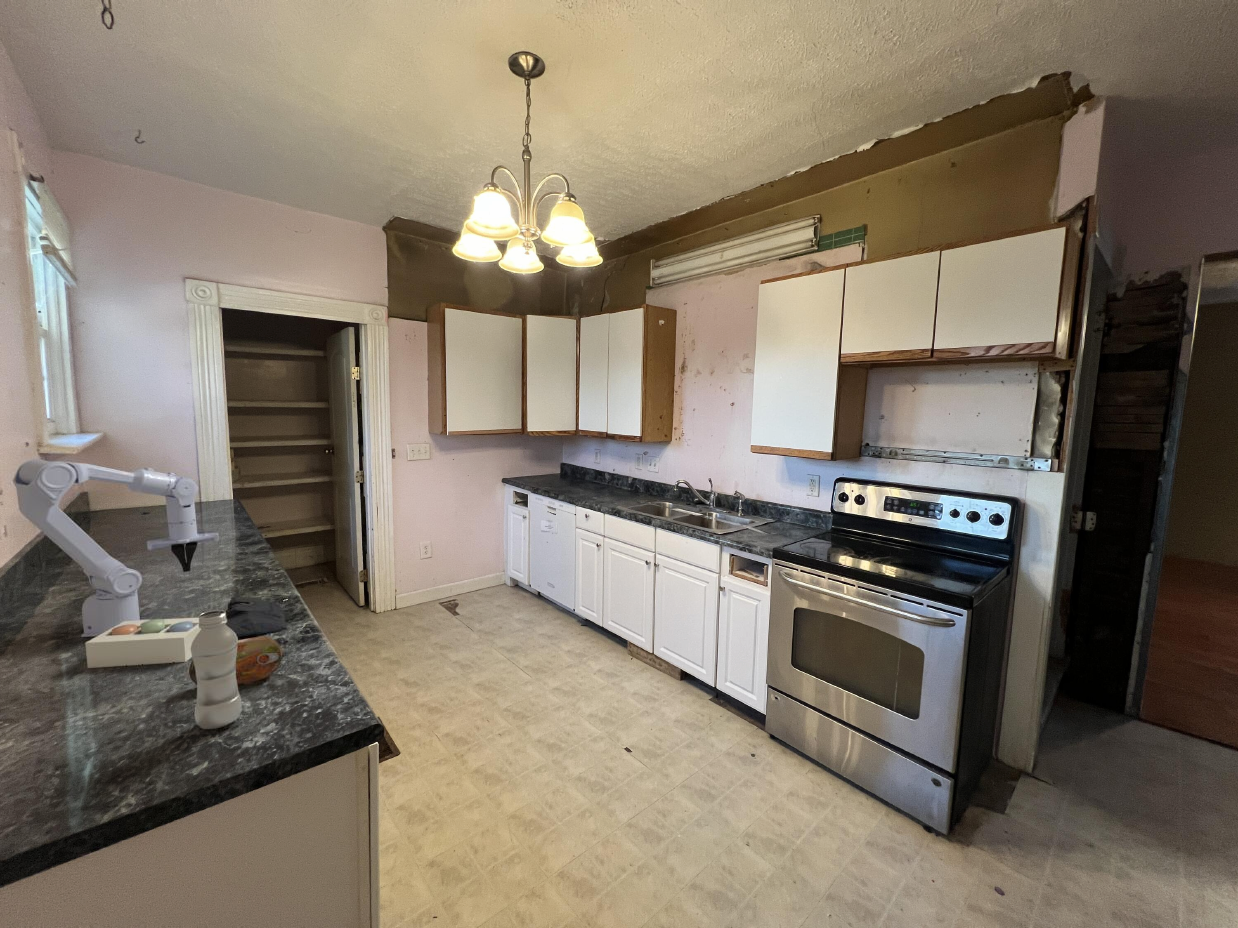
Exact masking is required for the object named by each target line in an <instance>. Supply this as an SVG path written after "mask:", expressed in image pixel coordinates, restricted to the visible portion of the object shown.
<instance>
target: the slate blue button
mask: <svg viewBox="0 0 1238 928" xmlns="http://www.w3.org/2000/svg"><path fill="white" fill-rule="evenodd" d="M169 628H170V632H187V631H189V630H190V629H191V628H193V622H190V621H186V622H179V623H176V624H173V625H171V626H170V627H169Z"/></svg>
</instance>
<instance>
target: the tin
mask: <svg viewBox="0 0 1238 928" xmlns="http://www.w3.org/2000/svg"><path fill="white" fill-rule="evenodd" d="M282 655H283V652H282V647H281V645H280V644H279V643H278V641H276V640H275V639H273V638H272V637H267V636H257V637H255V636H254V637H251V638H249V637H248V638H244V639H238V647H237V655H236V669H235V670H236V680H237V685H241V684H246V683H252V682H256V681H261V680H264V679H266V678H269V677H270V676H271V675H273V674H274V673H275V672H276V671H277V669H278V668H279V667H280V665H281V663H282ZM188 674H189V677H190V680H191V682H192V683H194V684H195V685H196V686H197V677H196V670H195V666H194V662H193V660H192V661H191V663H190V664H189V668H188Z"/></svg>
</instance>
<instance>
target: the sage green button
mask: <svg viewBox="0 0 1238 928" xmlns="http://www.w3.org/2000/svg"><path fill="white" fill-rule="evenodd" d="M164 619H165V618H164ZM164 619H163V618H156V619H155V618H153V619H148V620H149V621H146V622H143V623H142V624H141V625H140V627H141V634H151V633H159V632H161V631H162V630H164V629H165V620H164Z"/></svg>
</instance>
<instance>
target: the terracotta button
mask: <svg viewBox="0 0 1238 928" xmlns="http://www.w3.org/2000/svg"><path fill="white" fill-rule="evenodd" d="M136 630H137V626H136V625H135V624H128V625H123V626H119V627H116V628H114V629H112V630H111V631H112V636H114V635H129V634H131V633H133V632H134V631H136Z"/></svg>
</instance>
